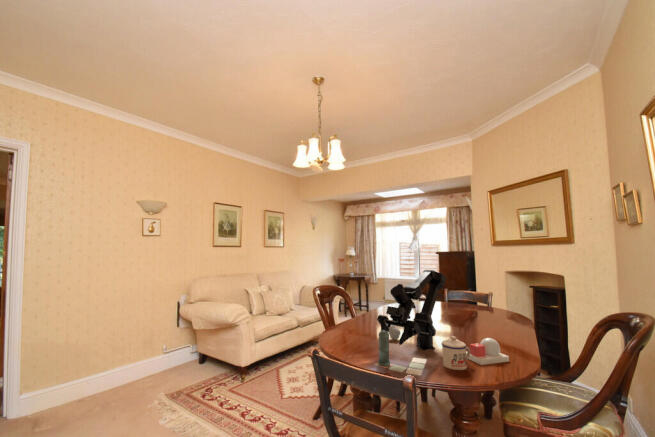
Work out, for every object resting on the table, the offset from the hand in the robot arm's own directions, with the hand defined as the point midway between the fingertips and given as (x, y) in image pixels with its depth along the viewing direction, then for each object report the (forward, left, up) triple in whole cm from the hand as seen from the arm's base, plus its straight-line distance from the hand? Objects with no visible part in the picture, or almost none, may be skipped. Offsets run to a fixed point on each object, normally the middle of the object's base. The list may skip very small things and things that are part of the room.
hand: (390, 341), depth 123 cm
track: (-4, +7, -8) cm, 12 cm away
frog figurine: (-17, -29, -9) cm, 35 cm away
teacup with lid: (-24, +11, -9) cm, 27 cm away
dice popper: (-41, +7, -8) cm, 42 cm away
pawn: (+4, +2, -8) cm, 9 cm away
